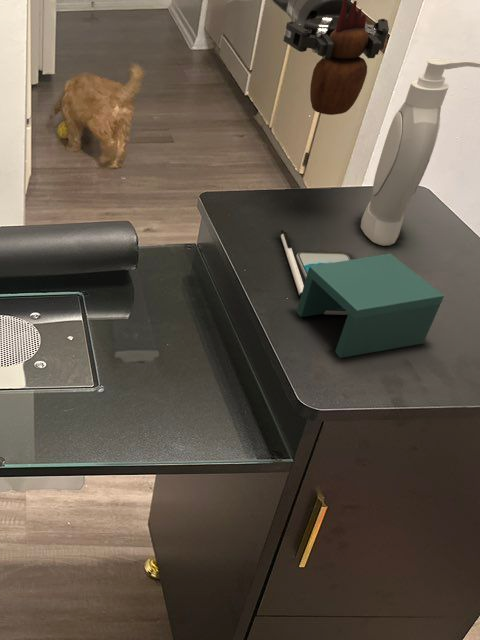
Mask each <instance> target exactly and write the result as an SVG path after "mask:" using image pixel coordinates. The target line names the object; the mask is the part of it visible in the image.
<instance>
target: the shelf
mask: <svg viewBox="0 0 480 640" xmlns="http://www.w3.org/2000/svg"><path fill="white" fill-rule="evenodd" d="M303 284H304V287H303V291H302V294H301V297H300V298H299V301H298V305H297V308H296V314H297V315H298V316H299V318H305V317H306V318H307V317H310V316H317V315H325V314H324V313H325V311H326V310H331V309H338V308H344V309H345V310H346V311H347V312H348V313H349V314H348V315H346V319H345V322H344V325H343V328H342V331H341V334H340V336H339V340H338V343H337V345H336V349H335V351H334V353H335V354H336V355H337V356H338V357H339V358H340V359H343V358H349V357H354V356H360V355H366V354H371V353H378V352H383V351H388V350H394V349H399V348H405V347H411V346H417V345H422V344H424V343H425V340H426V338H427V336H428V334H429V331H430V329H431V327H432V325H433V322H434V321H435V319H436V315H437V314H438V311H439V309H440V306H441V304H442V302H443V301H444V297H445V295H444V294H443V293H442V292H440V291H439V290H438V289H437V288H435V287H434V286H433V285H431V284H430V283H429V282H427V281H426V280H425V279H424V278H423V277H421V276H419V274H417V273H416V272H414V271H413V270H412V269H411V268H410V267H408V266H407V265H405V264H404V263H403V262H402V261H400V260H399V259H398V258H397V257H395V256H394V255H393V254H392V253H386V254H385V253H384V254H379V255H372V256H366V257H359V258H354V259H350V260H346V261H340V262H334V263H328V264H321V265H315V266H310V267H309V270H308V275H307V277H306V279H305V280H304V283H303Z"/></svg>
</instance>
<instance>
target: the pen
mask: <svg viewBox="0 0 480 640" xmlns="http://www.w3.org/2000/svg"><path fill="white" fill-rule="evenodd" d="M287 233H288V232H287V231H285V230H284V229H282V230H280V239H281V242H282V245H283V248H284V252H285V255H286V258H287V262H288V264H289V268H290V270H291V274H292V277H293V280H294V283H295V286H296V289H297V292H298V295H299V297H300V298H301V294H302V291H303V287H304V284H305V283H304V282H303V279H302V276H301V273H300V272H301V271H300V270H299V267H298V262H297V259H296V256H295V255H294V252H293V249H292V244H291V242H290V239H289V236H288V234H287Z"/></svg>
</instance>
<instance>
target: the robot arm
mask: <svg viewBox="0 0 480 640" xmlns="http://www.w3.org/2000/svg"><path fill="white" fill-rule="evenodd" d="M270 1H271V2H272V3H273V4H274V5H276V6H277V7H278V8H279V9H281V11H283V12H284V13H285V14H286V15H287V16H288V17H289V18H290V21H288V22H287V23H286V25H285V31H284V36H283V42H284V43H286V44H287V45H288V46H290V47H291V48H293V49H295V50H296V51H298V52H300V53H304V52H307V50H308V49H311V52H312V53H314V54H317V56H319V57H321V59H322V58H323V59H330V57H331V54H332V49H333V45H334V43H333V41H332V40H331V38H330V37H329V36H330V35H331V33H332V32H333V31H334V30H335V29H336V28H337V23H338V19H339V16H340V12H341V8H342V4H343V0H270ZM353 3H354V2H352V1H351V0H347V17H348V15H349V12H350V10H351V7H352V5H353ZM357 11H358V9H356V13H355V16H356V14H357ZM365 30H366V32H367V33H368V44H367V47H366V49H365V51H364V52H363V53H362V54H363V55H364V56H365V57H366V58H367V59H375V58H376V56H378V55H379V54H380V51H382V50H384V47H385V43H386V40H387V37H388V34H389V31H390V27H389V22H388V20H387V19H385V18H380V19H377V21H374V22H373V24H368V23H367V21H366V22H365Z"/></svg>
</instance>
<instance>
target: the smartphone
mask: <svg viewBox="0 0 480 640" xmlns="http://www.w3.org/2000/svg"><path fill="white" fill-rule="evenodd" d="M295 260H296V262H297V264H298V265H299V267H300V270H301V272H302V274H303V278H304V279H305V280H306V277H307V275H308V270H309V267H310V266H315V265H321V264H328V263H334V262H340V261H346V260H351V258H350V256H349V255H348V254H346V253H342V252H341V253H340V252H305V251H304V252H301V251H300V252H298V253H297V254H296V255H295ZM348 314H349V313H348V312H347V311H346V310H345V309H344V308H338V309H331V310H326V311H325V313H324V314H323V315H334V316H335V315H337V316H338V315H339V316H340V315H341V316H348Z"/></svg>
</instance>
